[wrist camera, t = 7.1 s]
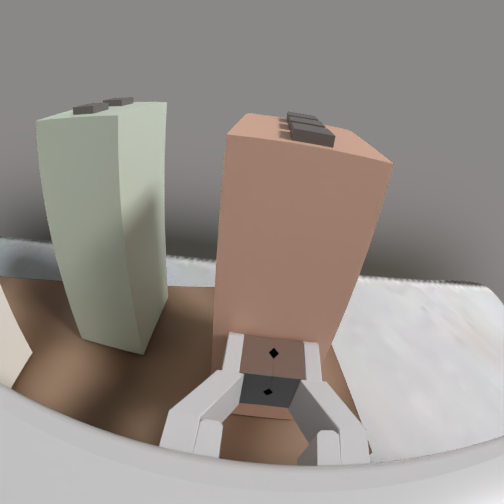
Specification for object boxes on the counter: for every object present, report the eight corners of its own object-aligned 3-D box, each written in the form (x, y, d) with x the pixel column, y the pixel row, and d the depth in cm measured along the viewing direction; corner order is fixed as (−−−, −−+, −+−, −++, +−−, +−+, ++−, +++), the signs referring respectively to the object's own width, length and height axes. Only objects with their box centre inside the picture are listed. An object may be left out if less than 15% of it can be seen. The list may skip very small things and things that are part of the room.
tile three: (294, 419, 13) (396, 152, 6) (210, 410, 13) (227, 121, 6) (293, 340, 17) (349, 122, 11) (225, 332, 17) (248, 105, 11)
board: (-63, 415, 8) (-72, 406, 7) (1, 285, 18) (-3, 276, 18) (364, 459, 12) (372, 452, 11) (305, 297, 23) (307, 287, 22)
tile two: (143, 355, 15) (118, 107, 9) (81, 338, 15) (35, 113, 9) (169, 294, 20) (169, 95, 13) (115, 284, 20) (100, 97, 13)
